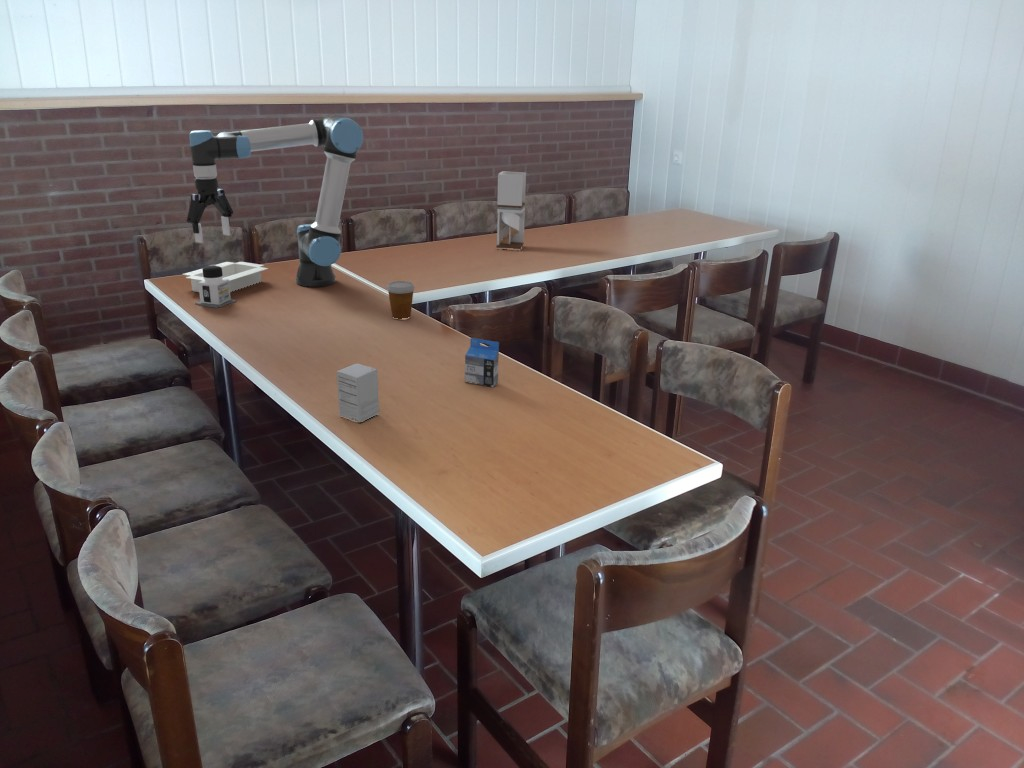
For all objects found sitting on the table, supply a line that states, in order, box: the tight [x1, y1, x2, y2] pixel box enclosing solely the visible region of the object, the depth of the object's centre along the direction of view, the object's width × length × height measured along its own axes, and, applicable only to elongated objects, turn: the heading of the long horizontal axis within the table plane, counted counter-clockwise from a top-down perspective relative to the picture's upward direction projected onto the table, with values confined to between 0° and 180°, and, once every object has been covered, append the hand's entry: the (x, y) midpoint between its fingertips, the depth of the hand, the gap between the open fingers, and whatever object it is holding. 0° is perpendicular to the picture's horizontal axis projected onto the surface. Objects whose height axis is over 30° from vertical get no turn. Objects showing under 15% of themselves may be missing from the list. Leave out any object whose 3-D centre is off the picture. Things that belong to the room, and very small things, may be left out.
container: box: [198, 264, 232, 305], centre depth 293 cm, size 8×8×13 cm
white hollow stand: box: [496, 170, 527, 250], centre depth 386 cm, size 11×11×35 cm
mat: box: [194, 298, 237, 309], centre depth 296 cm, size 10×10×1 cm
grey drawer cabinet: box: [336, 363, 380, 422], centre depth 205 cm, size 7×7×13 cm
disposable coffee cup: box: [386, 280, 415, 319], centre depth 283 cm, size 10×10×12 cm
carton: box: [182, 261, 269, 293], centre depth 315 cm, size 21×29×6 cm
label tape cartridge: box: [464, 337, 500, 388], centre depth 229 cm, size 9×4×12 cm, turn 69°
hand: (213, 238), depth 290 cm, fingers open, 13 cm apart
